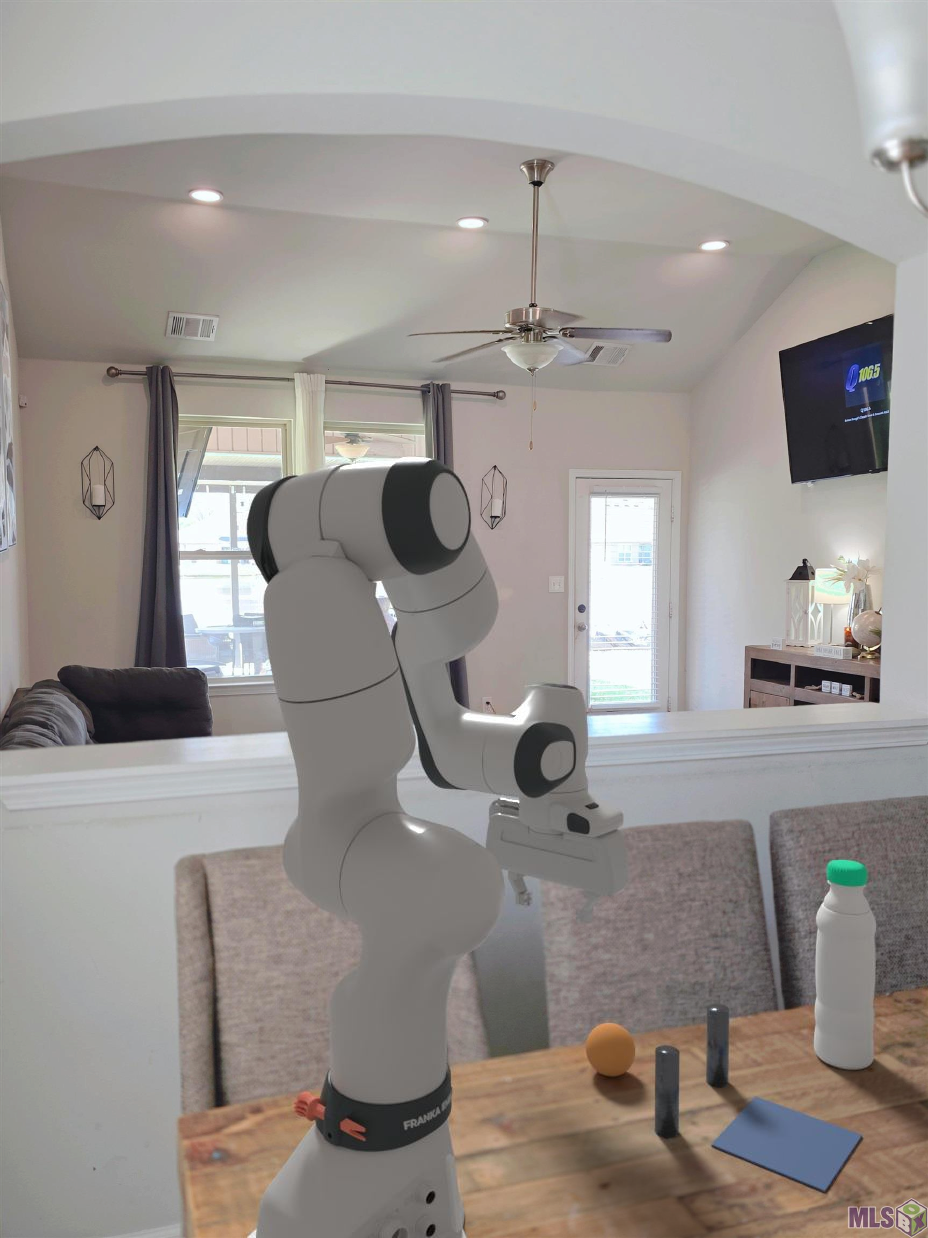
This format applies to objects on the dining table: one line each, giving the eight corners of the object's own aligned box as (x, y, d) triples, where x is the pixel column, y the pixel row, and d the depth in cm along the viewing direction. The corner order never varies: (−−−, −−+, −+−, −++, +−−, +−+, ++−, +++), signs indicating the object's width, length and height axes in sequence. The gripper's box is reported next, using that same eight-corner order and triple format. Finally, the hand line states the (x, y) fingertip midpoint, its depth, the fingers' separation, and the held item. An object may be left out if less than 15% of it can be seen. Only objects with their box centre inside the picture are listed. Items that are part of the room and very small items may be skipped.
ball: (619, 1092, 112) (619, 1042, 111) (576, 1075, 115) (576, 1027, 115) (643, 1071, 116) (644, 1024, 116) (601, 1055, 120) (602, 1009, 120)
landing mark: (824, 1192, 93) (824, 1190, 93) (711, 1146, 101) (711, 1144, 101) (862, 1136, 103) (862, 1135, 103) (755, 1098, 110) (755, 1096, 110)
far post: (722, 1089, 112) (723, 1016, 112) (702, 1082, 114) (703, 1009, 113) (731, 1080, 114) (732, 1008, 114) (711, 1073, 116) (712, 1002, 115)
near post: (672, 1141, 102) (672, 1060, 102) (650, 1132, 104) (651, 1052, 103) (682, 1130, 104) (683, 1050, 104) (661, 1121, 106) (662, 1043, 105)
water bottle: (879, 1075, 115) (883, 874, 114) (818, 1069, 117) (822, 870, 116) (866, 1047, 122) (870, 857, 121) (809, 1041, 124) (812, 853, 122)
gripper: (475, 799, 125) (475, 902, 126) (608, 826, 112) (607, 940, 112) (504, 790, 130) (504, 889, 130) (635, 815, 116) (634, 925, 117)
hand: (553, 913), depth 121 cm, fingers open, 8 cm apart
